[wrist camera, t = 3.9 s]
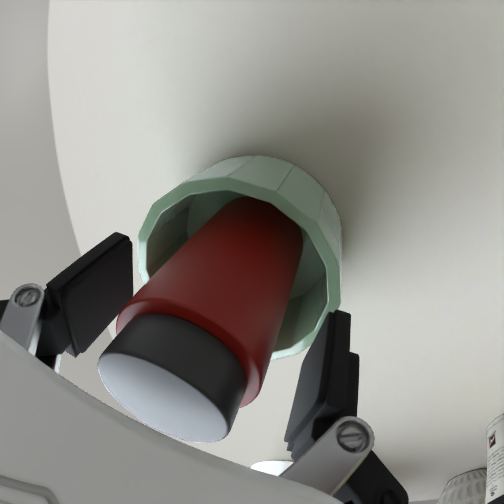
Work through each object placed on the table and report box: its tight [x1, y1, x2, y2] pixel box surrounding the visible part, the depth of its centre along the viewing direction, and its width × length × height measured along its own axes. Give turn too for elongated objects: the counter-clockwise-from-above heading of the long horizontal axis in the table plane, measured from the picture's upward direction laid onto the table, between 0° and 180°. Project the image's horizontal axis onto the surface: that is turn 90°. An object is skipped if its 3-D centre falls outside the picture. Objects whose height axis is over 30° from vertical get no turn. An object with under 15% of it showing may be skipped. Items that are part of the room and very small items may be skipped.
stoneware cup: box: [138, 155, 343, 361], centre depth 14 cm, size 9×9×4 cm
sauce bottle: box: [98, 196, 303, 443], centre depth 11 cm, size 5×5×10 cm
